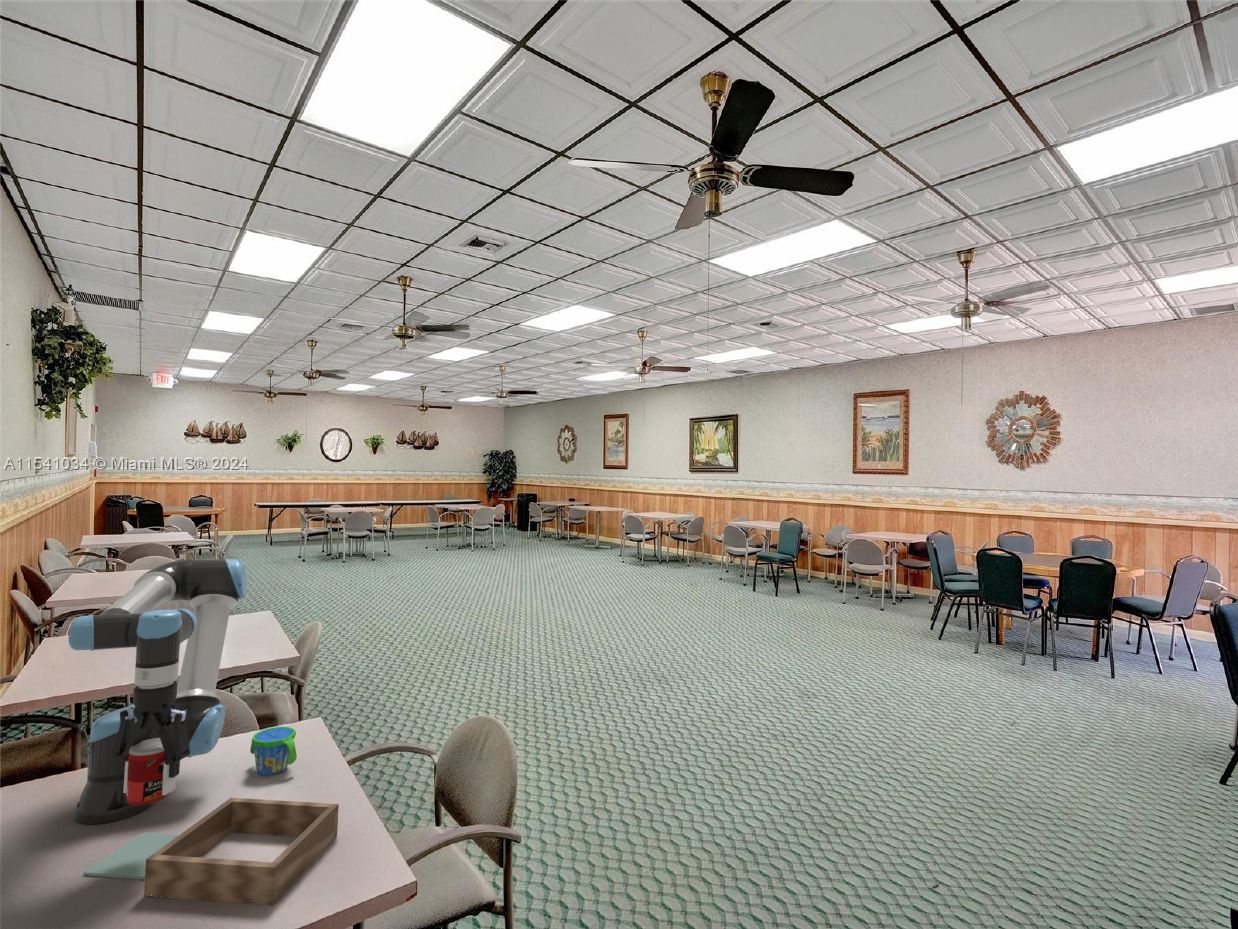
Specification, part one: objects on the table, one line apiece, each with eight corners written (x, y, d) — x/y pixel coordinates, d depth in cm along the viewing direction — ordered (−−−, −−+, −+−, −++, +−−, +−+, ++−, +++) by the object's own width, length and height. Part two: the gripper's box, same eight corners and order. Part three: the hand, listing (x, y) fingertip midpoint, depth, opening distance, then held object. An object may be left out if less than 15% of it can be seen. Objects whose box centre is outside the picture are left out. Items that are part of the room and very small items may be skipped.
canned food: (146, 808, 122) (149, 754, 122) (115, 803, 123) (119, 750, 124) (180, 790, 129) (183, 739, 130) (151, 785, 131) (154, 735, 131)
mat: (83, 875, 119) (83, 872, 119) (143, 835, 133) (143, 832, 133) (148, 880, 119) (149, 877, 119) (202, 839, 133) (202, 836, 133)
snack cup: (307, 770, 166) (309, 733, 166) (270, 786, 156) (272, 747, 157) (274, 756, 173) (276, 721, 174) (237, 771, 164) (239, 734, 164)
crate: (143, 896, 114) (146, 859, 114) (229, 828, 137) (230, 797, 137) (272, 905, 112) (274, 867, 113) (337, 835, 135) (338, 804, 136)
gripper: (94, 687, 124) (87, 797, 123) (188, 691, 123) (181, 802, 122) (126, 676, 132) (119, 779, 131) (214, 680, 131) (208, 785, 130)
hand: (149, 790), depth 127 cm, fingers closed on canned food, 8 cm apart
